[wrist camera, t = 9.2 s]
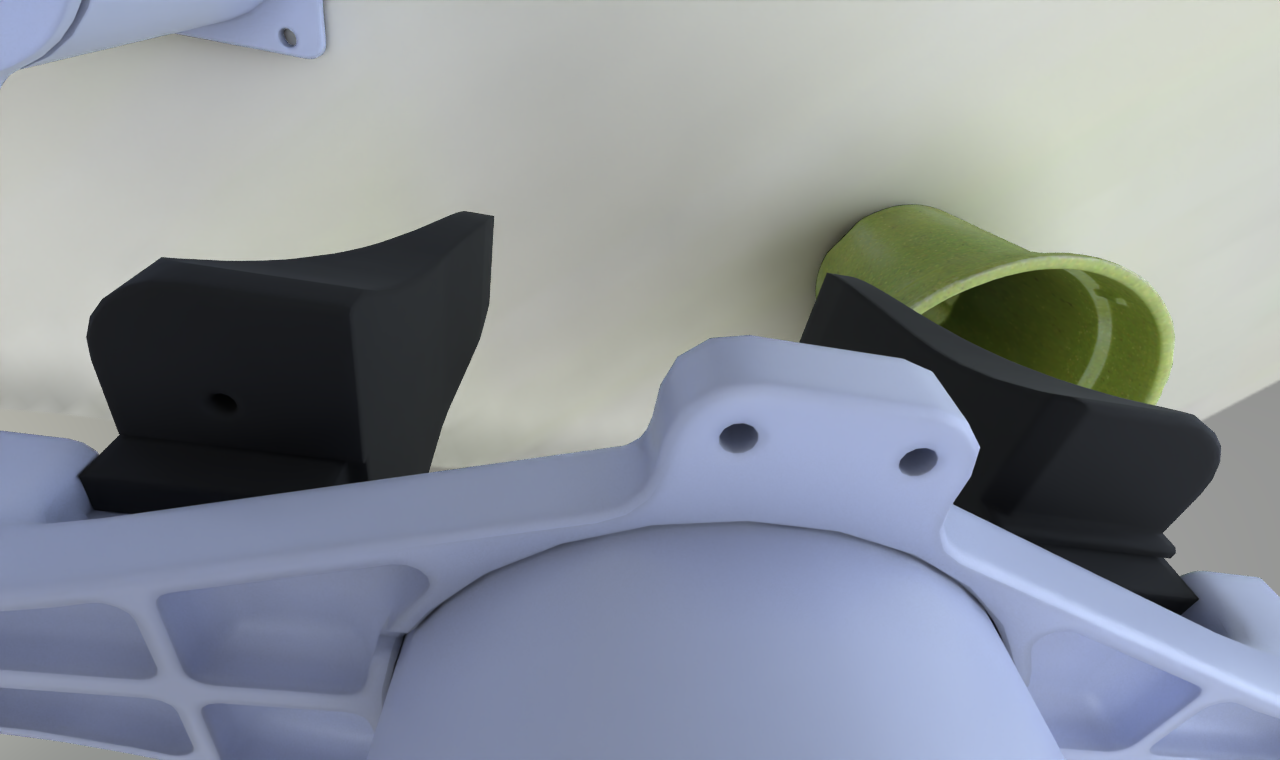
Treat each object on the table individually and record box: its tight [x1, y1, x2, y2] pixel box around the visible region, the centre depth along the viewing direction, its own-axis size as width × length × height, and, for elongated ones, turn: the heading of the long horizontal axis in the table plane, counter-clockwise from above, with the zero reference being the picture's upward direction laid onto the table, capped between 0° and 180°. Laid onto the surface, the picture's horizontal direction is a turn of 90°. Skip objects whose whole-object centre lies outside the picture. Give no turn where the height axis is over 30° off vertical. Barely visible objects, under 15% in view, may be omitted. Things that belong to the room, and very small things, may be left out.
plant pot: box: [816, 205, 1175, 405], centre depth 22 cm, size 9×9×9 cm
